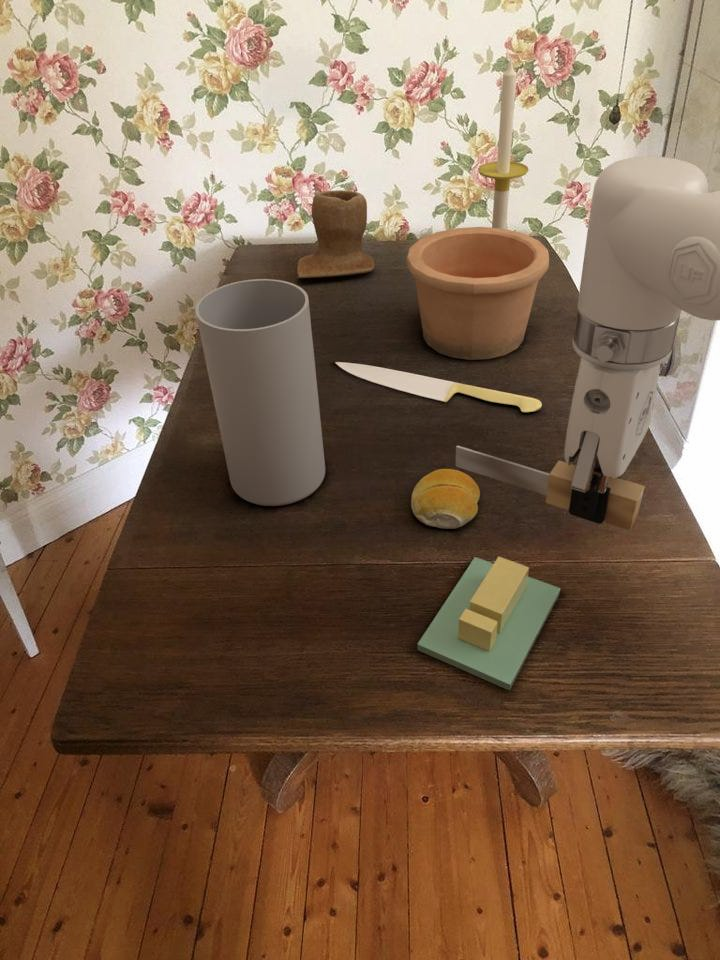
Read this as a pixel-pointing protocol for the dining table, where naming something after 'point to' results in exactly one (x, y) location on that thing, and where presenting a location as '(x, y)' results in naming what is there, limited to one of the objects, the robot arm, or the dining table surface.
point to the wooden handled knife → (555, 484)
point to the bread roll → (445, 499)
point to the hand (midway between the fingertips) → (592, 506)
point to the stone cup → (337, 236)
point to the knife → (435, 386)
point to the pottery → (476, 289)
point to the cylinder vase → (264, 388)
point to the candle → (504, 152)
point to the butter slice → (477, 629)
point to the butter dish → (504, 643)
